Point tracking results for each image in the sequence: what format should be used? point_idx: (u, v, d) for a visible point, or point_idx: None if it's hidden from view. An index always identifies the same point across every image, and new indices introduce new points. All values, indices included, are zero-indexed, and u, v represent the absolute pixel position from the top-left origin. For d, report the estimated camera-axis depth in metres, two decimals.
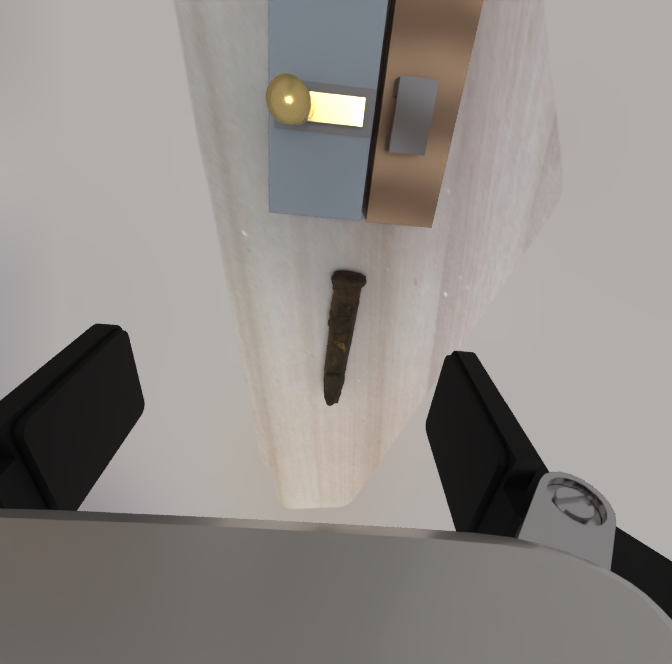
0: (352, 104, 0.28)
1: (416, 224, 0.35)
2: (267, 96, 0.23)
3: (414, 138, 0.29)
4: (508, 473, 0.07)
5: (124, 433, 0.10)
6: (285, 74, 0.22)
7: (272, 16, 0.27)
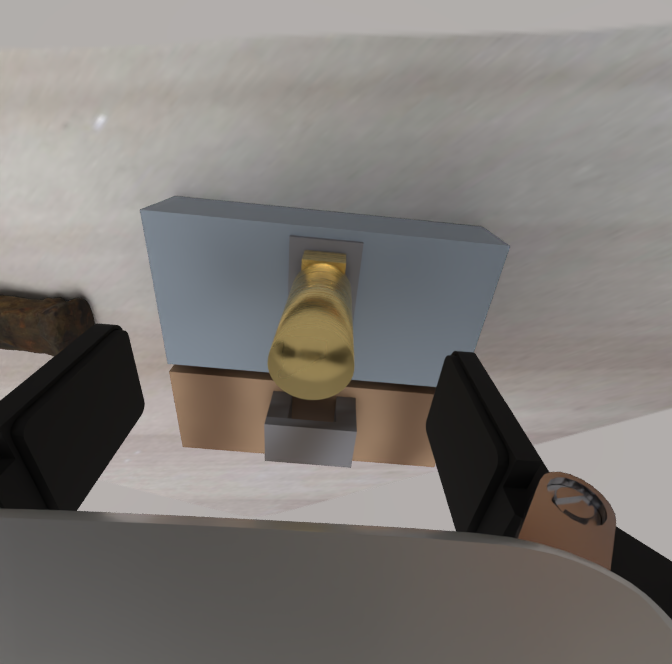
0: None
1: (182, 430, 0.24)
2: (315, 331, 0.11)
3: (284, 449, 0.21)
4: (508, 473, 0.07)
5: (124, 433, 0.10)
6: (352, 366, 0.11)
7: (441, 244, 0.17)
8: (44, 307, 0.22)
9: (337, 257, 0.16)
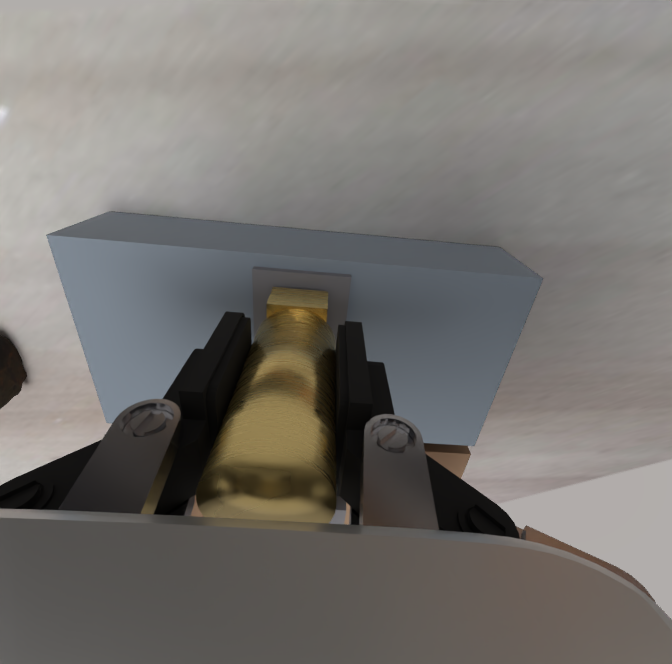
0: None
1: None
2: (269, 459, 0.06)
3: None
4: (348, 416, 0.08)
5: None
6: (333, 503, 0.07)
7: (453, 277, 0.13)
8: None
9: (316, 298, 0.12)
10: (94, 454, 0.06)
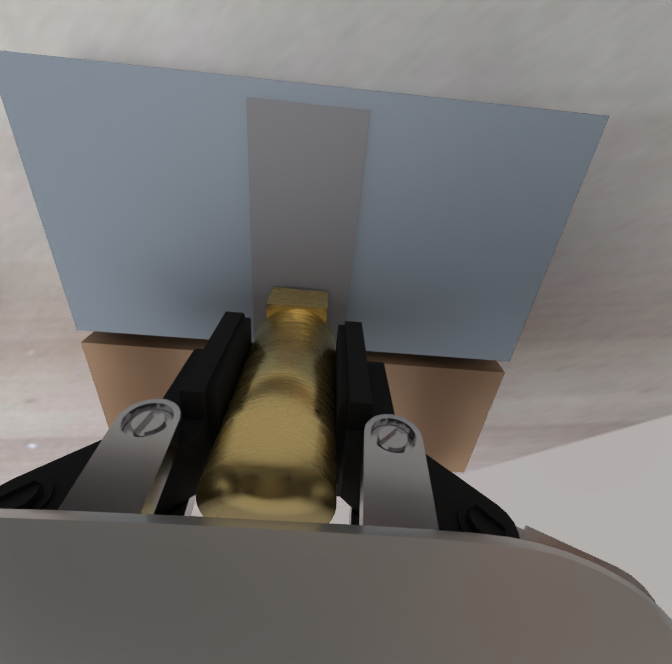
0: None
1: None
2: (268, 459, 0.06)
3: None
4: (348, 416, 0.08)
5: None
6: (333, 502, 0.07)
7: (497, 115, 0.11)
8: None
9: (316, 298, 0.12)
10: (93, 454, 0.06)
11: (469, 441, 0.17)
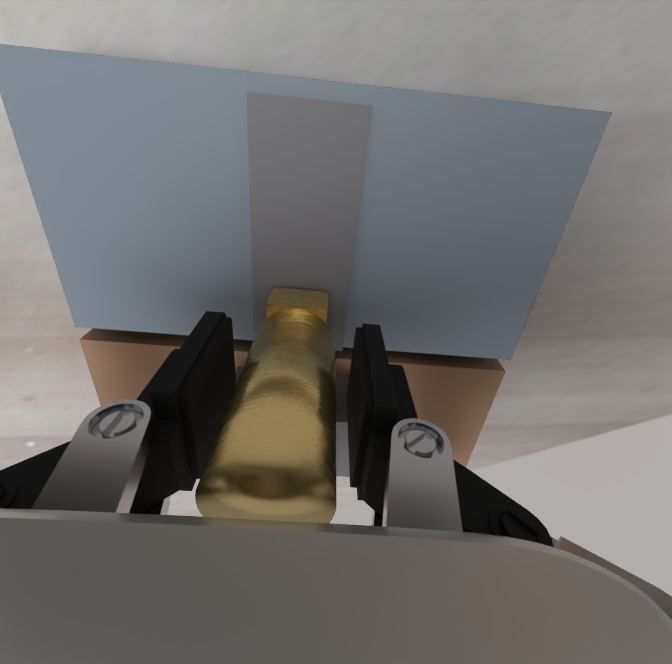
0: None
1: None
2: (268, 459, 0.06)
3: None
4: (373, 420, 0.08)
5: (226, 409, 0.11)
6: (333, 503, 0.07)
7: (499, 111, 0.10)
8: None
9: (316, 298, 0.12)
10: (61, 458, 0.06)
11: (469, 440, 0.17)
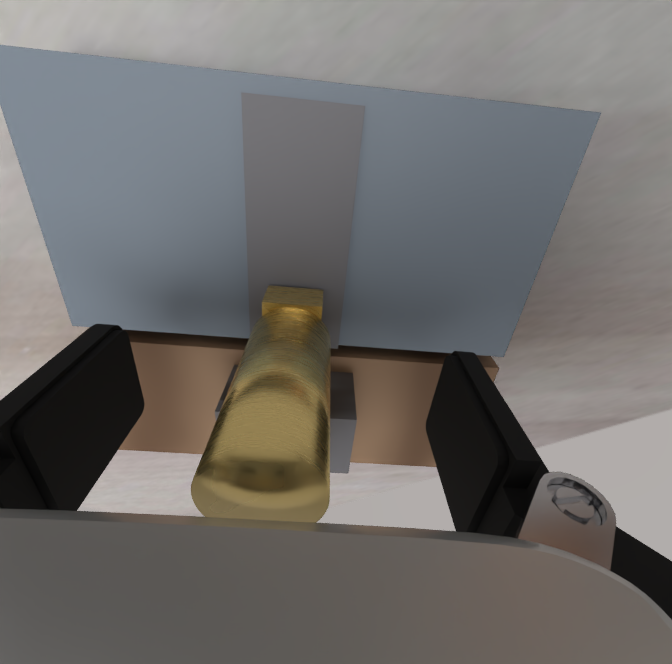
0: None
1: None
2: (262, 453, 0.07)
3: None
4: (508, 473, 0.07)
5: (124, 433, 0.10)
6: (326, 496, 0.07)
7: (491, 111, 0.11)
8: None
9: (311, 296, 0.12)
10: None
11: None
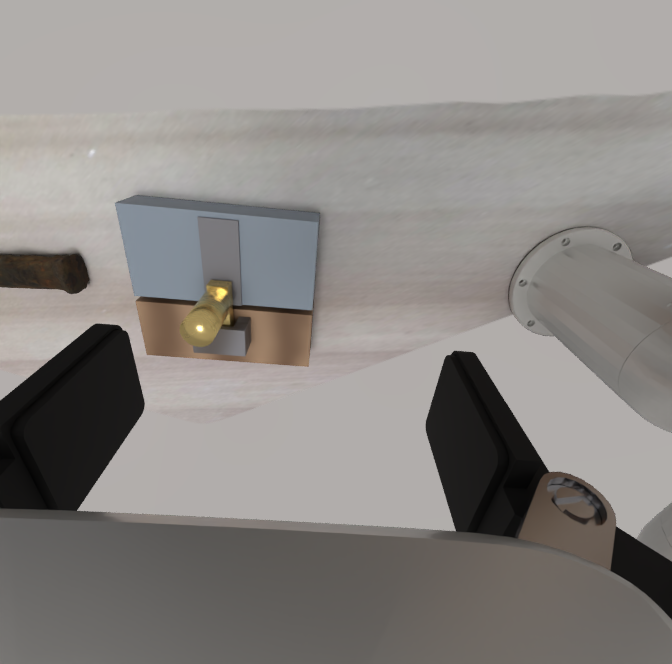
0: None
1: (146, 342, 0.38)
2: (196, 318, 0.28)
3: None
4: (508, 473, 0.07)
5: (124, 433, 0.10)
6: (213, 332, 0.28)
7: (281, 221, 0.32)
8: (55, 259, 0.36)
9: (225, 283, 0.34)
10: None
11: (306, 349, 0.39)
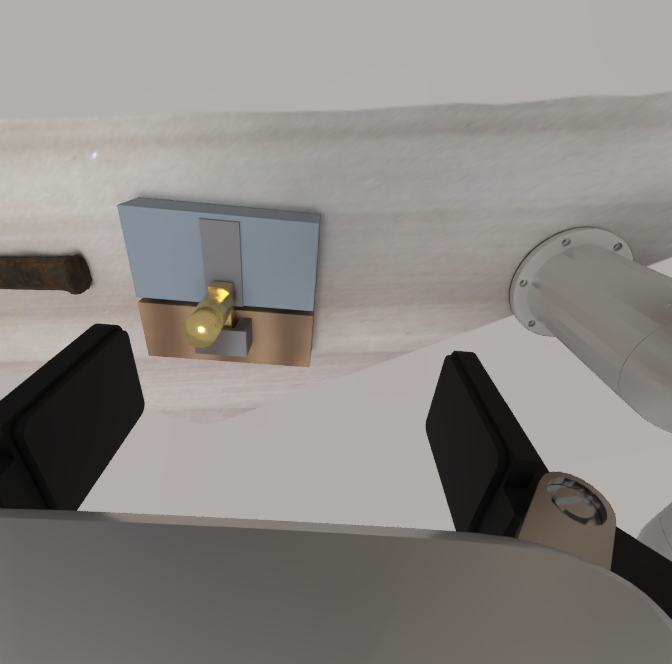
0: None
1: (148, 343, 0.39)
2: (197, 319, 0.28)
3: None
4: (508, 473, 0.07)
5: (124, 433, 0.10)
6: (215, 332, 0.29)
7: (282, 223, 0.32)
8: (58, 260, 0.36)
9: (226, 285, 0.34)
10: None
11: (307, 350, 0.39)
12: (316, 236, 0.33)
